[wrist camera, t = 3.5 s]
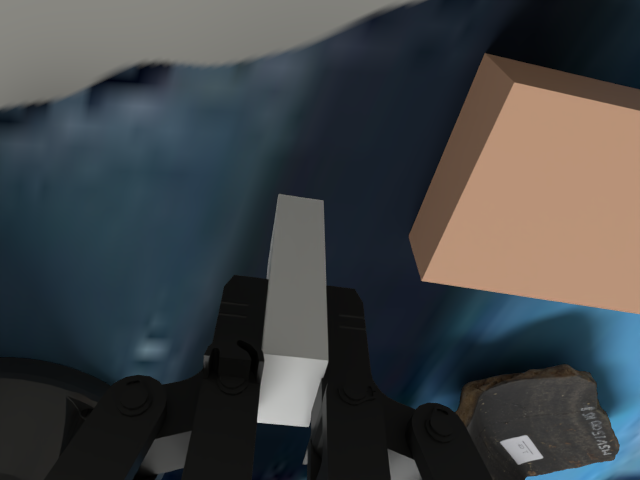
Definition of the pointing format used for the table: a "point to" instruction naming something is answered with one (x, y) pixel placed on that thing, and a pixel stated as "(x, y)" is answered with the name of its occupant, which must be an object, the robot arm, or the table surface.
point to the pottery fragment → (537, 422)
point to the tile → (538, 190)
